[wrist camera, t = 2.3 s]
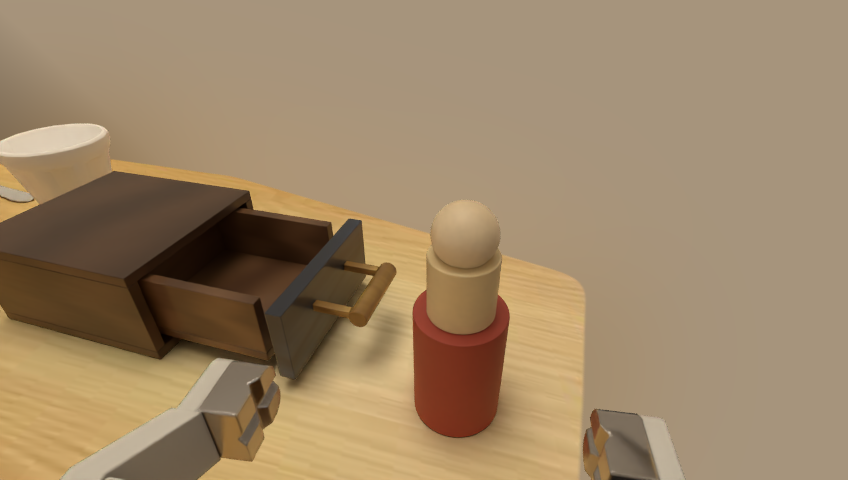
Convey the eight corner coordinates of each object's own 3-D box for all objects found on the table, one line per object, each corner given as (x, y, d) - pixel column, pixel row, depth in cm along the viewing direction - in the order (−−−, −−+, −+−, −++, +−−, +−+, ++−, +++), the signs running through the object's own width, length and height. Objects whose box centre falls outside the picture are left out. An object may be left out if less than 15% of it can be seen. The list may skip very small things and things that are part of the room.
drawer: (410, 283, 39) (409, 227, 36) (351, 394, 29) (343, 330, 26) (231, 249, 44) (216, 197, 41) (127, 336, 34) (97, 275, 31)
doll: (471, 358, 33) (485, 172, 25) (513, 417, 29) (548, 217, 21) (401, 383, 31) (393, 191, 23) (436, 451, 27) (441, 244, 19)
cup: (116, 232, 48) (81, 151, 43) (15, 240, 47) (-34, 158, 42) (148, 192, 57) (122, 120, 52) (63, 198, 55) (27, 125, 50)
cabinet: (265, 259, 44) (249, 190, 40) (160, 359, 33) (123, 278, 29) (140, 235, 48) (113, 170, 44) (9, 318, 37) (-43, 241, 33)
